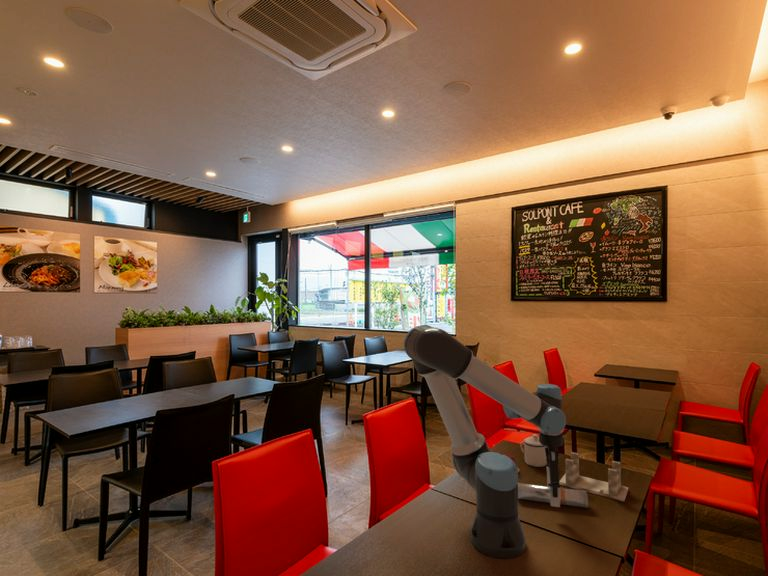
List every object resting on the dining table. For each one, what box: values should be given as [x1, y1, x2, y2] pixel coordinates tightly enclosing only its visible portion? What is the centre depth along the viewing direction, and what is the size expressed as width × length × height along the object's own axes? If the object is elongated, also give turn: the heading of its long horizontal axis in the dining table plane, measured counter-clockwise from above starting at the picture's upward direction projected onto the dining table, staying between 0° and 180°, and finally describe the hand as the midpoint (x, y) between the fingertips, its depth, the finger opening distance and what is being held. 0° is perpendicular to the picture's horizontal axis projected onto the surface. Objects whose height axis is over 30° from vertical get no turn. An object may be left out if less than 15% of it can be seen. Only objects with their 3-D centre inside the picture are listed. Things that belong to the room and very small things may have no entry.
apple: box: [504, 453, 520, 473], centre depth 164 cm, size 8×8×6 cm
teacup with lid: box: [520, 434, 547, 468], centre depth 172 cm, size 12×9×12 cm
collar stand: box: [559, 451, 629, 502], centre depth 149 cm, size 21×10×10 cm, turn 52°
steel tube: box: [518, 482, 589, 509], centre depth 138 cm, size 22×5×5 cm
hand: (553, 495), depth 135 cm, fingers open, 13 cm apart
